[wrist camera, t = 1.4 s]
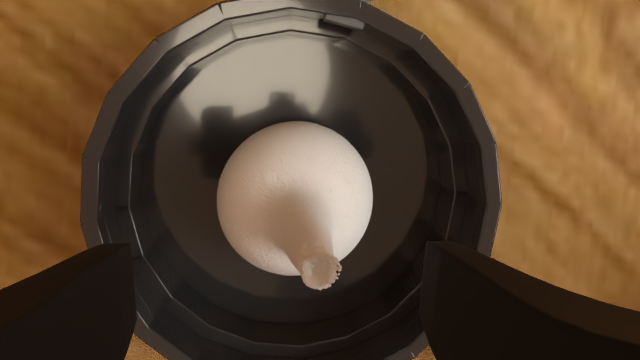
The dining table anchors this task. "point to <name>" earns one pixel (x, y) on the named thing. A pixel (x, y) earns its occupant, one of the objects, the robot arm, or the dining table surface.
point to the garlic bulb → (295, 201)
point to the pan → (254, 115)
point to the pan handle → (345, 21)
